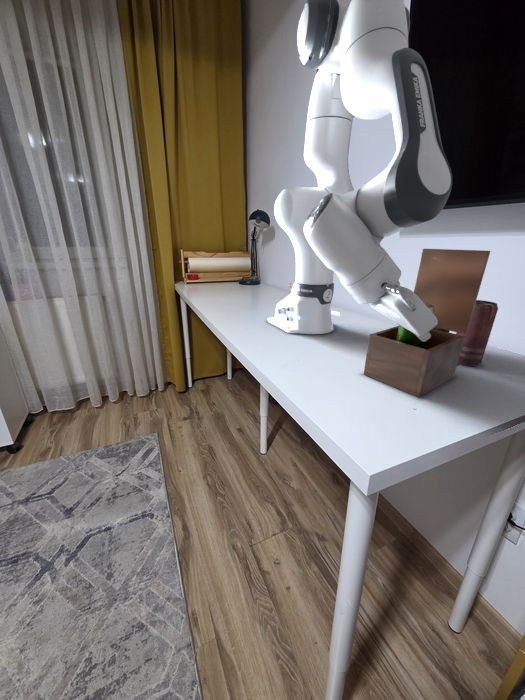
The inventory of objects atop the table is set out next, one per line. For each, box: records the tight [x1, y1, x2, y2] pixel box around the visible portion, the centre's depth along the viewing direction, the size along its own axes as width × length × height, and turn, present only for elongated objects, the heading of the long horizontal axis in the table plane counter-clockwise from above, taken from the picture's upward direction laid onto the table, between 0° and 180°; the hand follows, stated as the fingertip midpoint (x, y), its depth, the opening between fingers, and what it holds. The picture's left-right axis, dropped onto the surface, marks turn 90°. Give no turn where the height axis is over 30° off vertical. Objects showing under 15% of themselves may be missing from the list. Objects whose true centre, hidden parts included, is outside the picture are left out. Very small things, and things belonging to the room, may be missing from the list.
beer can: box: [396, 303, 434, 349], centre depth 56 cm, size 5×5×12 cm
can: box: [455, 299, 499, 367], centre depth 65 cm, size 6×6×14 cm
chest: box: [363, 325, 465, 398], centre depth 58 cm, size 15×12×9 cm
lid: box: [413, 248, 491, 334], centre depth 59 cm, size 15×12×5 cm
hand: (416, 332), depth 55 cm, fingers closed on beer can, 5 cm apart
